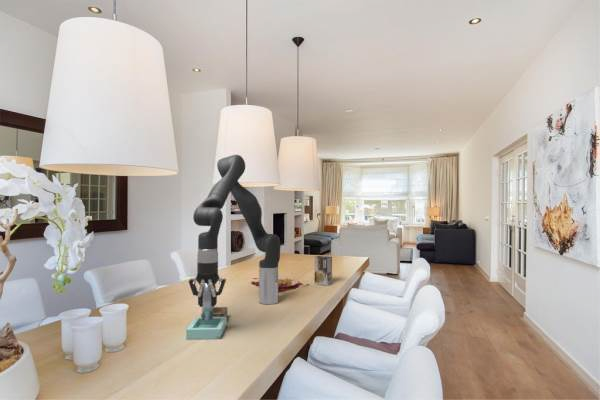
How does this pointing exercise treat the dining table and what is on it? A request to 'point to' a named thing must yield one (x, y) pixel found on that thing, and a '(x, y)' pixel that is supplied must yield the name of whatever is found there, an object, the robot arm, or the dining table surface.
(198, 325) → the tray
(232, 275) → the dining table surface
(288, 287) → the plate with food
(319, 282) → the coffee box
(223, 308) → the holder
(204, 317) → the pin
